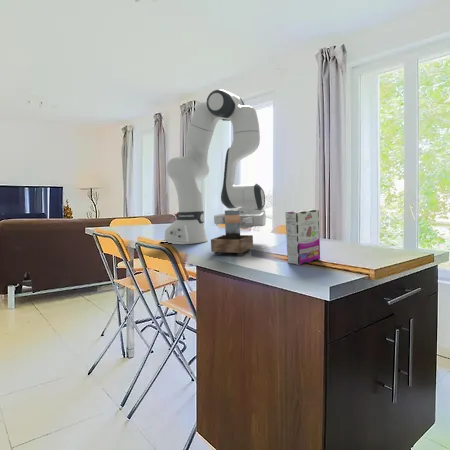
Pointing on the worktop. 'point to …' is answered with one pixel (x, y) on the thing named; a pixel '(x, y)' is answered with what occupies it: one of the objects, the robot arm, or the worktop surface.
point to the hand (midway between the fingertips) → (232, 221)
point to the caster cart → (232, 244)
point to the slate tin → (232, 224)
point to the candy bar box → (302, 236)
